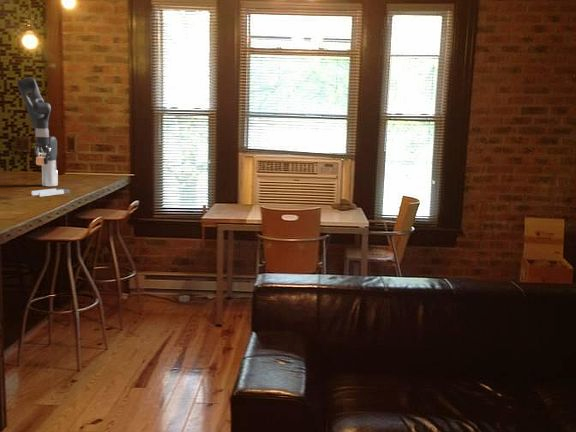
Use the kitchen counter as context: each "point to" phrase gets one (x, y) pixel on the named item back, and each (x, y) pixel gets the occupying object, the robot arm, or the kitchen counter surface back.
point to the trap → (64, 190)
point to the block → (40, 161)
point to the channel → (47, 192)
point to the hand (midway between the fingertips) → (43, 163)
